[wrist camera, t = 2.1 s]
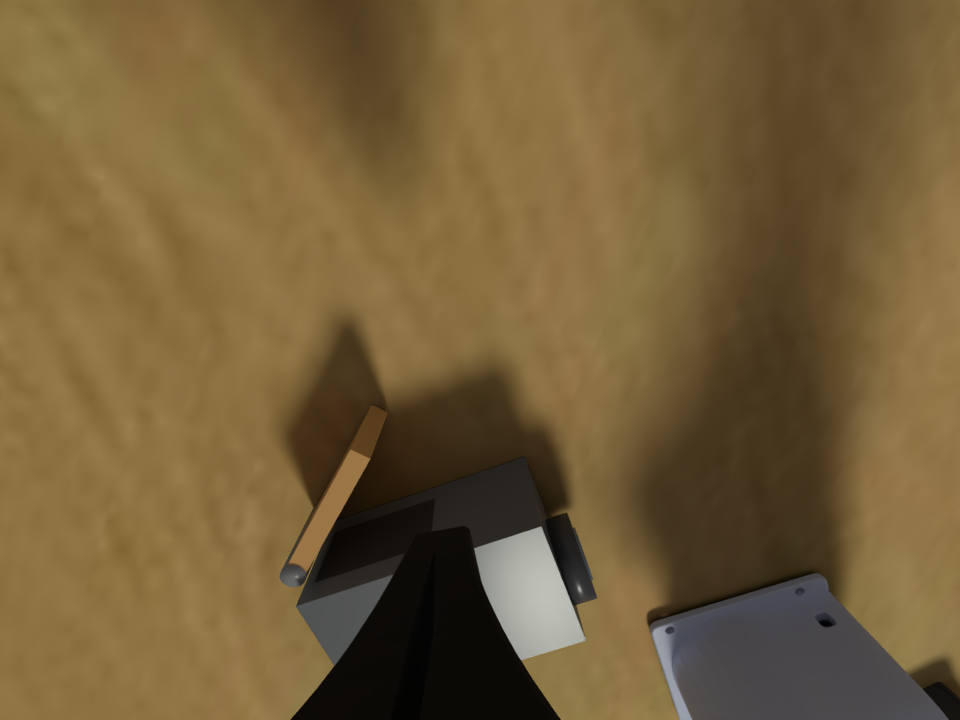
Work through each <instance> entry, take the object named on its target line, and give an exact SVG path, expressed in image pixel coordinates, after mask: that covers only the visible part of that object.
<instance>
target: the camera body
mask: <svg viewBox="0 0 960 720" xmlns="http://www.w3.org/2000/svg"><path fill="white" fill-rule="evenodd" d="M460 526H466V527H467V528H469V529H470V532H471V537H472V541H473V546H474V550H475V555H476V559H477V563H478V568H479V572H480V577H481V581H482V584H483V587H484V589H485V592H486V594H487V596H488V599H489V601H490V603H491V605H492V607H493V610H494V612H495V614H496V616H497V618H498V620H499V622H500V624H501V626H502V628H503V630H504V632H505V633H506V635H507V637H508V639H509V641H510V643H511V644H512V646H513V648H514V650H515V651H516V653H517V655H518V656H519V658H520V660H523V659H526V658H530V657H533V656H536V655H540V654H543V653H546V652H550V651H553V650H556V649H560V648H563V647H566V646H569V645H573V644H576V643H579V642H583V641H586V638H585V635H584V631H583V628H582V624H581V621H580V617H579V613H578V610H577V606H576V605H577V604H581V603H584V602H587V601H590V600H594V599H597V596H596V593H595V590H594V587H593V584H592V581H591V580H593V578H592V575H591V572H590V569H589V566H588V563H587V560H586V558H585V555H584V552H583V549H582V546H581V544H580V541H579V538H578V535H577V533H576V530H575V527H574V528H573V527H572V524H571V522H570V519H569V516H568V514H567V512H566V513H563V514H560V515H557V516H554V517H551V518H548V517H547V514H546V511H545V509H544V506H543V504H542V501H541V498H540V496H539V493H538V490H537V488H536V485H535V483H534V480H533V477H532V475H531V472H530V470H529V467H528V464H527V462H526V459H525V457H523V458H520V459H517V460H514V461H511V462H508V463H505V464H502V465H499V466H496V467H493V468H490V469H487V470H484V471H481V472H478V473H475V474H472V475H469V476H466V477H464V478H461V479H458V480H455V481H452V482H449V483H446V484H443V485H440V486H437V487H434V488H431V489H428V490H425V491H422V492H419V493H416V494H413V495H410V496H408V497H405V498H402V499H399V500H396V501H393V502H390V503H387V504H384V505H381V506H378V507H375V508H372V509H369V510H366V511H363V512H360V513H357V514H354V515H351V516H349V517H346V518H343V519H340V520H337V521H335V523H334V525H333V526H332V528H331V530H330V532H329V534H328V535H327V537H326V539H325V541H324V542H323V544H322V546H321V549H320V551H319V553H318V556H317V558H316V560H315V563H314V565H313V567H312V570H311V572H310V574H309V577H308V579H307V582H306V584H305V586H304V589H303V591H302V593H301V596H300V598H299V600H298V603H297V605H296V607H297V609H298V610H299V612H300V613H301V615H302V616H303V618H304V619H305V621H306V623H307V624H308V626H309V627H310V629H311V630H312V632H313V633H314V635H315V636H316V638H317V640H318V641H319V643H320V644H321V646H322V647H323V649H324V650H325V652H326V653H327V655H328V657H329V658H330V660H331V661H332V663H333V664H334V666H335V665H336V663H337V662H338V660H339V659H340V658H341V656H342V655H343V654H344V652H345V651H346V649H347V648H348V647H349V645H350V644H351V642H352V641H353V639H354V638H355V636H356V635H357V633H358V632H359V630H360V629H361V627H362V626H363V624H364V622H365V621H366V619H367V618H368V616H369V615H370V613H371V612H372V610H373V609H374V607H375V605H376V604H377V602H378V600H379V599H380V597H381V595H382V593H383V592H384V590H385V588H386V587H387V585H388V583H389V582H390V580H391V578H392V576H393V574H394V573H395V571H396V569H397V567H398V565H399V563H400V562H401V560H402V558H403V556H404V554H405V552H406V550H407V548H408V546H409V544H410V542H411V540H412V539H413V537H414V536H415V535H416V534H420V533H426V532H431V531H437V530H443V529H449V528H455V527H460Z"/></svg>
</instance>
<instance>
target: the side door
mask: <svg viewBox="0 0 960 720" xmlns="http://www.w3.org/2000/svg"><path fill="white" fill-rule="evenodd" d="M387 414H388V412H386V411H384V410H382V409H380V408H378V407H376V406H374V405H371V407H370V409H369V411H368V412H367V414H366V416H365V418H364V420H363V422H362V423H361V425H360V427H359V429H358V431H357V433H356V435H355V436H354V438H353V440H352V442H351V444H350V446H349V448H348V449H347V451H346V453H345V455H344V457H343V459H342V460H341V462H340V464H339V466H338V468H337V470H336V472H335V473H334V475H333V477H332V479H331V481H330V483H329V484H328V486H327V488H326V490H325V492H324V494H323V496H322V497H321V499H320V501H319V503H317V504H316V505H315V506H314V508H313V510H312V512H311V514H310V516H309V518H308V520H307V522H306V524H305V525H304V527H303V529H302V531H301V533H300V535H299V537H298V539H297V541H296V543H295V545H294V547H293V549H292V551H291V553H290V555H289V557H288V559H287V561H286V563H285V565H284V567H283V569H282V571H281V573H280V579H281V581H282V582H283V583H284V584H285V585H287V586H290V587H298V586H301V585H302V584H303V583H304V582H305V580H306V577H307V575H308V573H309V570H310V568H311V566H312V563H313V561H314V559H315V557H316V555H317V553H318V551H319V550H320V548H321V546H322V544H323V542H324V541H325V539H326V537H327V535H328V534H329V532H330V530H331V528H332V526H333V525H334V523H335V521H336V519H337V518H338V516H339V514H340V512H341V510H342V509H343V507H344V505H345V503H346V501H347V500H348V498H349V496H350V494H351V493H352V491H353V489H354V487H355V485H356V484H357V482H358V480H359V478H360V477H361V475H362V473H363V471H364V469H365V468H366V466H367V464H368V462H369V461H370V459H371V456H372V453H373V451H374V448H375V446H376V443H377V440H378V438H379V435H380V432H381V430H382V427H383V424H384V422H385V419H386V416H387Z"/></svg>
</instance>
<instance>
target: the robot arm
mask: <svg viewBox="0 0 960 720" xmlns="http://www.w3.org/2000/svg"><path fill="white" fill-rule="evenodd" d="M649 629H650V633H651V636H652V639H653V642H654V645H655V648H656V651H657V654H658V657H659V660H660V663H661V666H662V669H663V672H664V675H665V679H666V682H667V685H668V688H669V691H670V694H671V697H672V700H673V703H674V706H675V709H676V712H677V715H678V717H679V719H680V720H949V719H948V718H947V717H946V716H945V714H944V713H943V712H942V711H941V709H940V708H939V707H938V706H937V705H936V704H935V702H934V701H933V700H932V699H931V698H930V697H929V696H928V695H927V694H926V692H925V691H924V690H923V689H922V688H921V687H920V686H919V685H918V684H917V683H916V682H915V681H914V680H913V679H912V678H911V677H910V676H909V675H908V673H907V672H906V671H905V670H904V669H903V668H902V667H901V666H900V665H899V664H898V663H897V662H896V661H895V660H894V659H893V658H892V657H891V656H890V655H889V654H888V653H887V651H886V650H885V649H884V648H883V647H882V646H881V645H880V644H879V643H878V642H877V641H876V640H875V639H874V638H873V637H872V636H871V635H870V634H869V633H868V632H867V630H866V629H865V628H864V627H863V626H862V625H861V624H860V623H859V622H858V621H857V620H856V619H855V618H854V617H853V616H852V615H851V614H850V613H849V612H848V611H847V610H846V608H845V607H844V606H843V605H842V604H841V603H840V602H839V601H838V600H837V599H836V598H835V597H834V596H833V595H832V594H831V593H830V592H829V588H828V582H827V580H826V579H825V578H824V577H823V576H822V575H821V574H818V573H814V574H810V575H807V576H803V577H800V578H797V579H793V580H790V581H787V582H783V583H780V584H777V585H773V586H770V587H767V588H763V589H760V590H757V591H754V592H750V593H747V594H744V595H740V596H737V597H734V598H730V599H727V600H724V601H720V602H717V603H714V604H710V605H707V606H704V607H700V608H697V609H694V610H690V611H687V612H684V613H680V614H677V615H674V616H670V617H667V618H664V619H661V620H657V621H655V622H653V623H652V624H651V625H650V627H649ZM291 720H561V719H560V718H559V717H558V715H557V714H556V712H555V711H554V709H553V708H552V707H551V705H550V704H549V702H548V701H547V699H546V698H545V696H544V695H543V693H542V692H541V691H540V689H539V688H538V686H537V685H536V683H535V682H534V680H533V679H532V677H531V676H530V674H529V673H528V671H527V669H526V668H525V666H524V665H523V663H522V661H521V660H520V658H519V656H518V655H517V653H516V651H515V650H514V648H513V646H512V644H511V643H510V641H509V639H508V637H507V635H506V633H505V632H504V630H503V628H502V626H501V624H500V622H499V620H498V618H497V616H496V614H495V612H494V610H493V607H492V605H491V603H490V601H489V599H488V596H487V594H486V592H485V589H484V587H483V584H482V581H481V577H480V572H479V568H478V563H477V559H476V555H475V550H474V546H473V541H472V537H471V532H470V529H469V528H467V527H466V526H460V527H455V528H449V529H443V530H437V531H431V532H426V533H420V534H416V535H415V536H414V537H413V539H412V540H411V542H410V544H409V546H408V548H407V550H406V552H405V554H404V556H403V558H402V560H401V562H400V563H399V565H398V567H397V569H396V571H395V573H394V574H393V576H392V578H391V580H390V582H389V583H388V585H387V587H386V588H385V590H384V592H383V593H382V595H381V597H380V599H379V600H378V602H377V604H376V605H375V607H374V609H373V610H372V612H371V613H370V615H369V616H368V618H367V619H366V621H365V622H364V624H363V626H362V627H361V629H360V630H359V632H358V633H357V635H356V636H355V638H354V639H353V641H352V642H351V644H350V645H349V647H348V648H347V649H346V651H345V652H344V654H343V655H342V656H341V658H340V659H339V660H338V662H337V663H336V665H335V666H334V667H333V669H332V670H331V671H330V672H329V674H328V675H327V676H326V678H325V679H324V680H323V682H322V683H321V684H320V685H319V687H318V688H317V689H316V690H315V691H314V693H313V694H312V695H311V696H310V697H309V699H308V700H307V701H306V702H305V703H304V705H303V706H302V707H301V708H300V709H299V710H298V712H297V713H296V714H295V715H294V716H293V717H292V719H291Z"/></svg>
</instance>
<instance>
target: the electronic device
mask: <svg viewBox="0 0 960 720" xmlns="http://www.w3.org/2000/svg"><path fill="white" fill-rule="evenodd" d="M923 690H924V691H925V692H926V694H927V695H928V696H929V697H930V698H931V699H932V700H933V701H934V702H935V704H936V705H937V706H938V707H939V708H940V709H941V711H942V712H943V713H944V714H945V716H946V717H947V718H948V719H949V720H960V698H959V697H958V696H957V695H955V694H954V693H953V692H952V691H951V690H950V689H949V688H947V687H946V686H945V685H943V684H942V683H935V684H933V685H932V686H928V687H926V688H924V689H923Z"/></svg>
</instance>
